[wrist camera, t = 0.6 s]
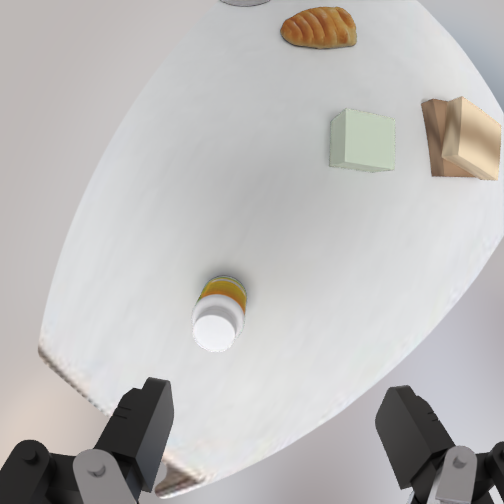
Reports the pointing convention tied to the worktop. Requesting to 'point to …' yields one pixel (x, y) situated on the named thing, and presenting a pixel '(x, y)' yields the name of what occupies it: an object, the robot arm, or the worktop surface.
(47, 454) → the robot arm
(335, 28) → the pastry
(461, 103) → the block top
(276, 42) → the worktop surface
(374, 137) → the sage block
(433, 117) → the block bottom
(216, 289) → the supplement bottle
